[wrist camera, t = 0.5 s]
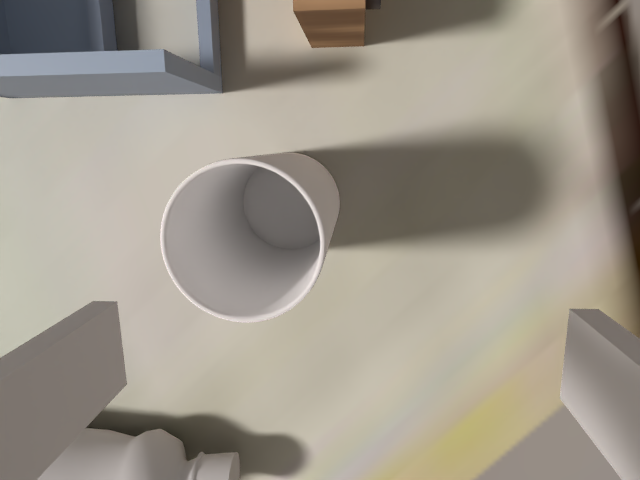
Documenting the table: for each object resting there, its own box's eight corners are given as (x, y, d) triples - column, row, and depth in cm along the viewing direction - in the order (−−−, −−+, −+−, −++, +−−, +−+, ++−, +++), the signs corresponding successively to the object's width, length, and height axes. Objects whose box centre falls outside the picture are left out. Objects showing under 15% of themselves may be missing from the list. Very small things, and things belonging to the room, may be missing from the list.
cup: (231, 162, 38) (140, 175, 22) (330, 143, 37) (307, 142, 21) (252, 258, 39) (181, 334, 24) (347, 242, 38) (339, 310, 23)
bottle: (-71, 517, 44) (239, 531, 42) (-170, 539, 35) (214, 557, 34) (-41, 415, 47) (248, 424, 46) (-124, 413, 39) (227, 423, 37)
